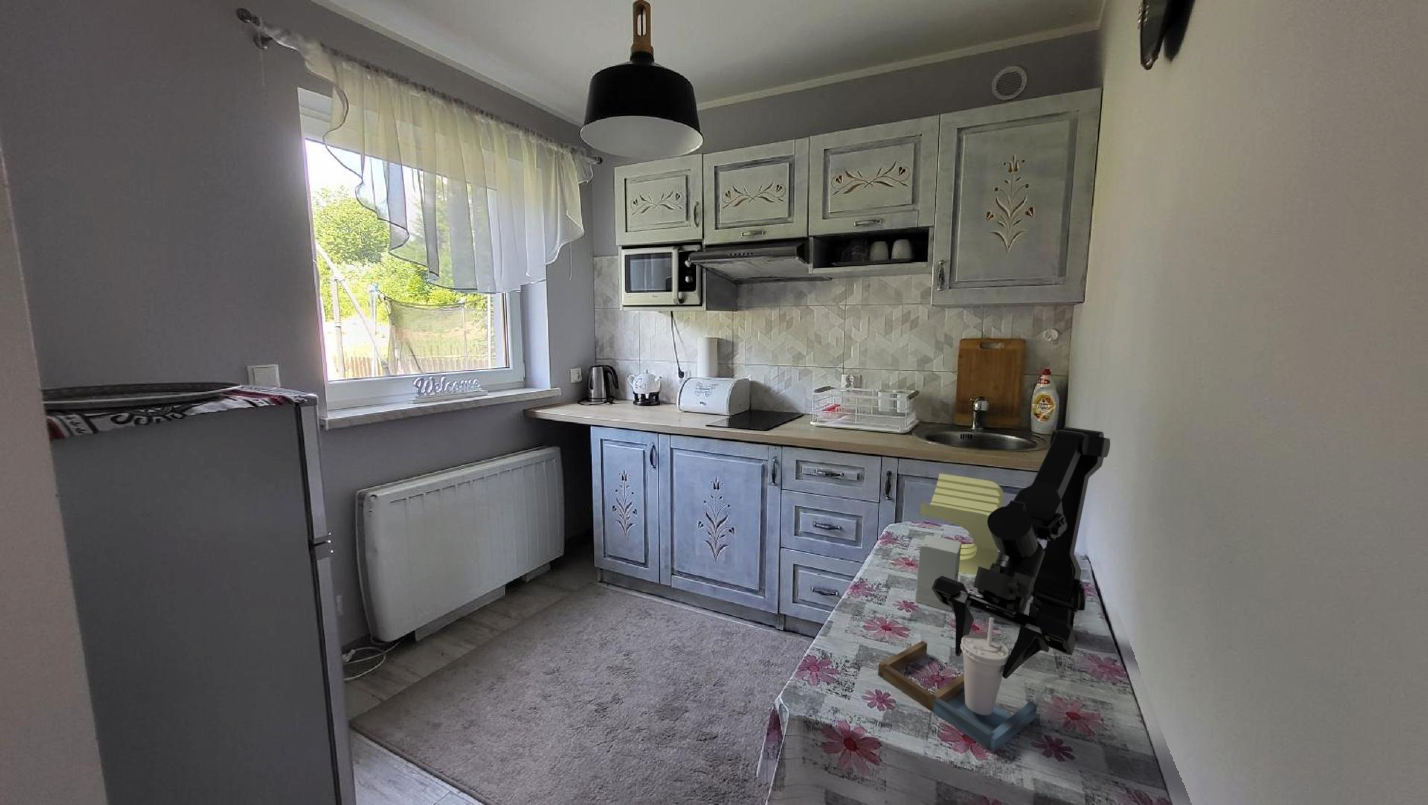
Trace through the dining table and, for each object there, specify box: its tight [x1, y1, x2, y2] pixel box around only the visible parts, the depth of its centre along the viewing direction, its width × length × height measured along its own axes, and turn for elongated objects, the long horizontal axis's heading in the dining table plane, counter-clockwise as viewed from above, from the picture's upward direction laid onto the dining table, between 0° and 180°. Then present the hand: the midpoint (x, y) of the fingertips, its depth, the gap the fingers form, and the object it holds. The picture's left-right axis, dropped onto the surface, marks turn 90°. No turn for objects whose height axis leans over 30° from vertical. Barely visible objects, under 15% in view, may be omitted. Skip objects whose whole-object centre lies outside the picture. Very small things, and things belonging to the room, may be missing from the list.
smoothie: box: [960, 616, 1011, 715], centre depth 76 cm, size 6×6×14 cm
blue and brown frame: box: [877, 640, 1038, 754], centre depth 81 cm, size 12×19×2 cm, turn 35°
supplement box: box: [914, 534, 963, 612], centre depth 110 cm, size 7×7×13 cm
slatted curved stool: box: [919, 473, 1004, 576], centre depth 129 cm, size 30×16×18 cm, turn 149°
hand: (979, 666), depth 75 cm, fingers closed on smoothie, 6 cm apart
